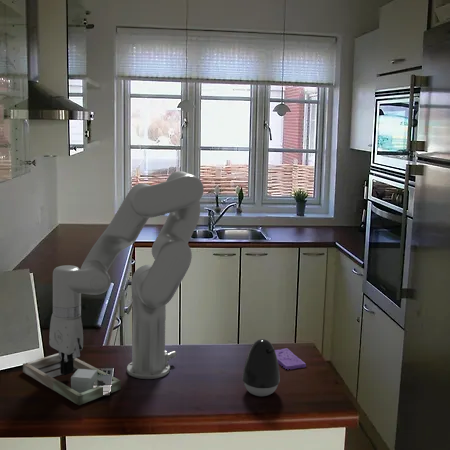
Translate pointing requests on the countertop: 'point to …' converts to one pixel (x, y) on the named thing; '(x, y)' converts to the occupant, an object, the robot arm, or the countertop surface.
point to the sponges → (289, 359)
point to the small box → (83, 380)
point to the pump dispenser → (261, 369)
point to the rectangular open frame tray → (52, 362)
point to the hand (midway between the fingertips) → (66, 373)
